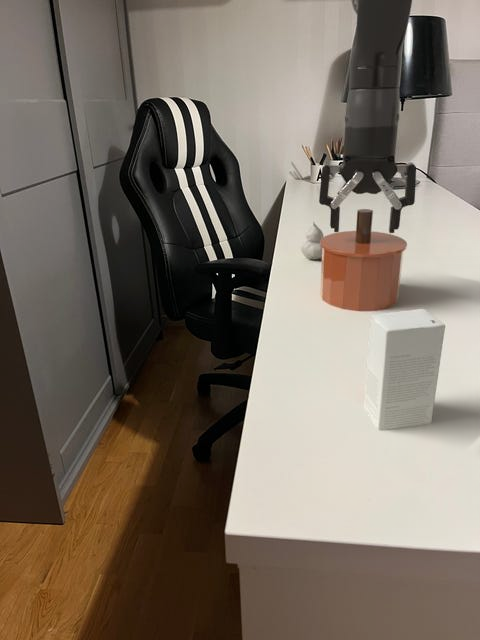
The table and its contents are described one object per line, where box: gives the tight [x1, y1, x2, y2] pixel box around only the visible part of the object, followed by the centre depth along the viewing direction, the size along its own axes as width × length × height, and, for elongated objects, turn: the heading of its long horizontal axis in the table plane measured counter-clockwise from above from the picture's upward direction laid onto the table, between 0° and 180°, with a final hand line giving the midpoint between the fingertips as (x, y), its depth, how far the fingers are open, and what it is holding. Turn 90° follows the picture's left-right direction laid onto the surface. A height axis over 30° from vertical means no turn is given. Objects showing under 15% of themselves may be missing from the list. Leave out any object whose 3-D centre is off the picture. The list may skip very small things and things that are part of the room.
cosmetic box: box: [363, 308, 446, 431], centre depth 51 cm, size 6×4×12 cm
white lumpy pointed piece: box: [300, 221, 325, 260], centre depth 104 cm, size 5×7×8 cm
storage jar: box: [319, 248, 404, 312], centre depth 83 cm, size 13×13×10 cm
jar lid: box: [320, 208, 408, 257], centre depth 80 cm, size 14×14×6 cm
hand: (363, 231), depth 80 cm, fingers open, 8 cm apart
